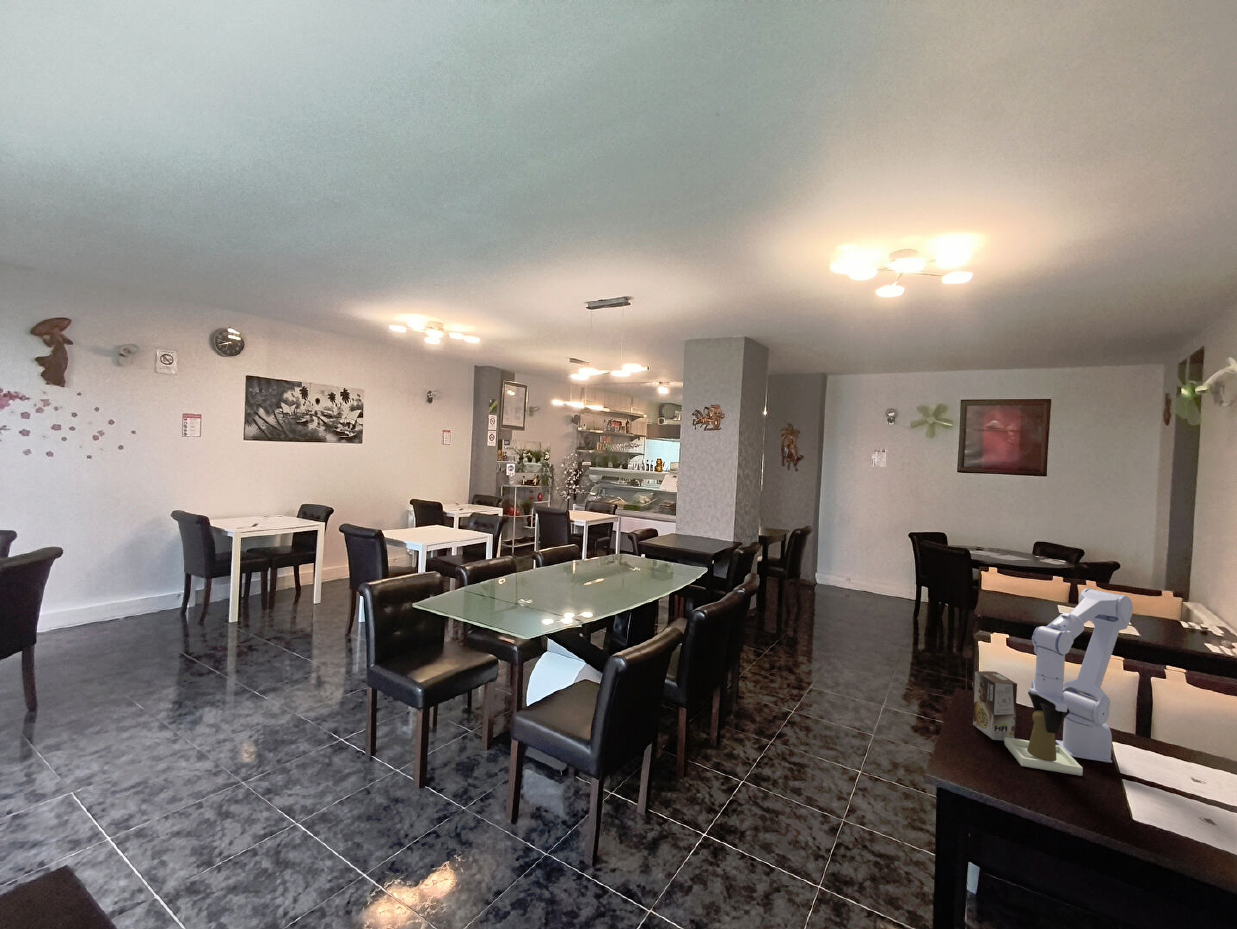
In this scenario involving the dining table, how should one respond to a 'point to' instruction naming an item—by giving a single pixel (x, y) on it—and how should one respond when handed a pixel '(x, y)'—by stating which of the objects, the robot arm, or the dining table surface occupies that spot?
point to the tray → (1026, 759)
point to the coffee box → (994, 705)
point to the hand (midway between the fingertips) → (1046, 727)
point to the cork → (1042, 739)
